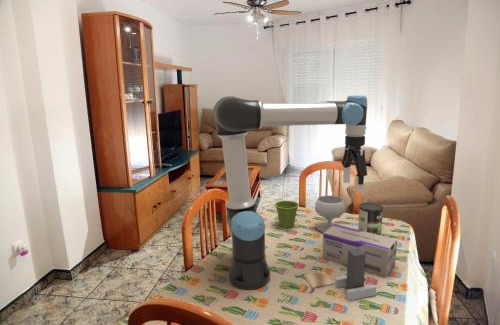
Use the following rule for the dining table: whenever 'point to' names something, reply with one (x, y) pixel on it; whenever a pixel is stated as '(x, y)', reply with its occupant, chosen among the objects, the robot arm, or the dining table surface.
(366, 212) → the coffee can
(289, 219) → the plant pot
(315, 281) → the pad
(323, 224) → the chalice
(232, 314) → the dining table surface
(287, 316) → the dining table surface
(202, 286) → the dining table surface
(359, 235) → the surgical sutures box
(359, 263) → the dark grey rectangular block
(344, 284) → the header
